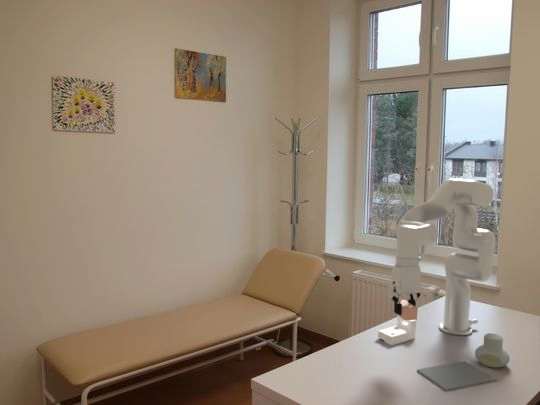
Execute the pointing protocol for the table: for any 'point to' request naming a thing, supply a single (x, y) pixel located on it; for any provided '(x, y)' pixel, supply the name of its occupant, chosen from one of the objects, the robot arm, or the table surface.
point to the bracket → (398, 332)
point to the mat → (456, 375)
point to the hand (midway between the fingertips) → (404, 312)
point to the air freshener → (492, 352)
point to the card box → (407, 311)
